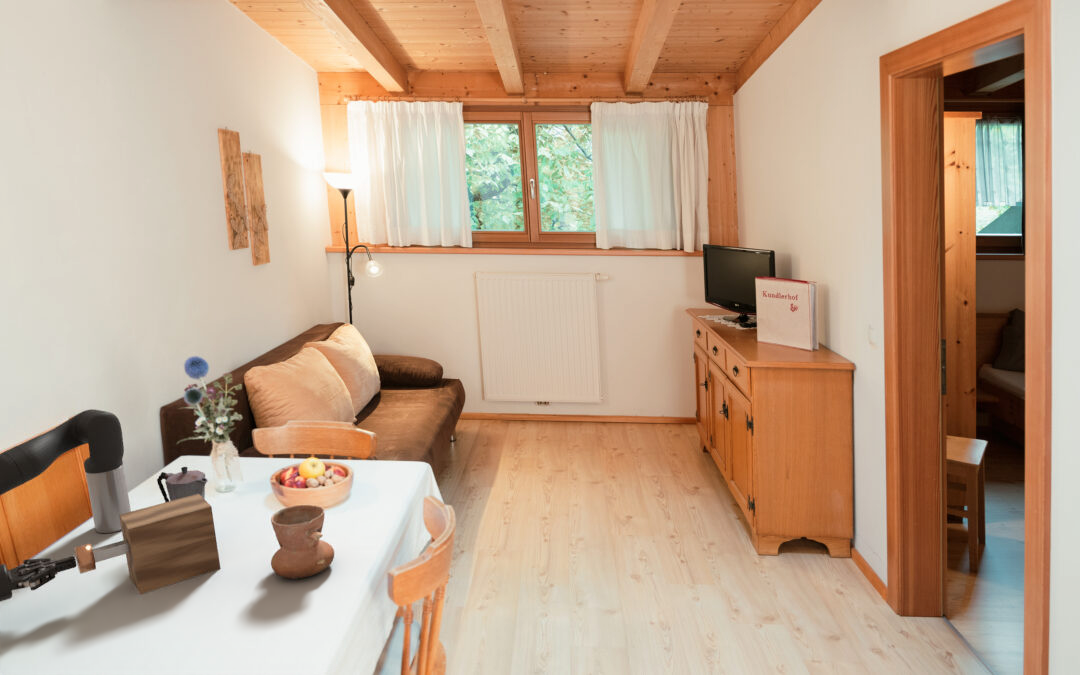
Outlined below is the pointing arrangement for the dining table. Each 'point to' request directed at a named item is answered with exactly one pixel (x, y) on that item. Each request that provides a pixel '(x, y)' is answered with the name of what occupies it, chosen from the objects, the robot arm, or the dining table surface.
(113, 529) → the robot arm
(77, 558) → the plunger
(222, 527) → the dining table surface
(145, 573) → the press housing
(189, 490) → the moka pot
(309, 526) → the ceramic jug
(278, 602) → the dining table surface
